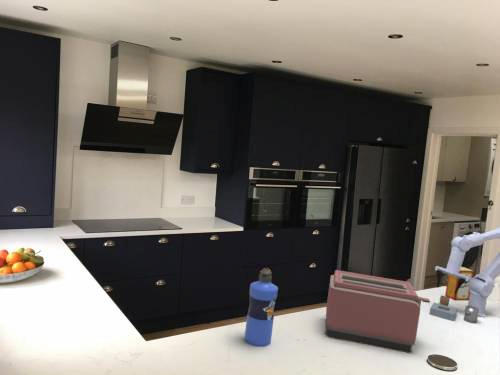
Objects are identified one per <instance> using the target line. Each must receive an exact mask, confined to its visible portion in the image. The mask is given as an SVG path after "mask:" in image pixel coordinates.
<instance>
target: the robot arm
mask: <svg viewBox="0 0 500 375" xmlns="http://www.w3.org/2000/svg"><path fill="white" fill-rule="evenodd" d="M495 239H500V226H498V227H497V228H495V229H492V230H490V231H487V232H483V233H480V232H476V231H474V232H472V233H471V234H468V235H467V234H465V235H463V236H462V237H461V236H456V237H454V238H453V239H452V240H451V251H450V255H449V259H448V261H447V264H446V268H445V267H441V266H438V265H435V267H434V270H435V271H436V278H437V279H436V280H437V283H436V284H437V285H436V288H440V286H441V285H440V284H441V280H442V277H443V275H444V274H445V275H451V276H454V277H457V278H460V279H459V281H458V285H457V288H456V290H455V293H454V294H456V293H457V291H458V289H459V288H460V286H461V285H462V284H463V283H464V282H465V281H468V280H469V277H468V276H465V275H462V274H460V273H459V272H460V269H461V267H463V266H462V265H463V262H464V259H465V256H466V253H467V252H468V251H470V249H471V248H474V247H478V246H481V245H484V242H486V241H492V240H495ZM449 273H451V274H449ZM452 274H454V275H452ZM455 275H456V276H455ZM499 275H500V252H498V254H497V255H496V256H495V257H494V258H493V260H492V261H491V262H490V263H489V264H488V266H487V267H486V268H485V270H484V271H482V273H478V274H475V276H473V278H472V279H470V280H469V282H468V288H469V289H470V296H469V300H468V302H467V306H473V307H476V308H478V309H479V312H478V317H481V318H485V316H486V312H487V311H486V306H487V299H488V298H489V296H490V295H491V294H492V293H493V289H494V288H495V287H496V286H495V285H496V284H495V282H494V281H495V279H497V277H498V276H499Z"/></svg>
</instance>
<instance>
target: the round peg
mask: <svg viewBox="0 0 500 375" xmlns="http://www.w3.org/2000/svg"><path fill="white" fill-rule="evenodd" d="M478 312H479V309H478V308H476V307H473V306H468V305H465V309H464V316H463V320H464V321H465V322H466V323H469V324H477V323H478V318H479V316H478Z"/></svg>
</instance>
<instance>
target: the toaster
mask: <svg viewBox="0 0 500 375" xmlns="http://www.w3.org/2000/svg"><path fill="white" fill-rule="evenodd" d="M327 294H328V295H327V299H326V300H327V302H326V307H325V308H326V310H325V325H326V336H327V337H329V338H333V339H338V340H344V341H350V342H354V343H360V344H363V345H364V344H365V345H370V346H375V347H381V348H384V349H385V348H386V349H389V350H395V351H401V352H406V353H411V351H412V345H414V344H415V343H416V339H417V333H418V329H419V328H418V327H419V321H420V314H421V306H422V303H428V304H429V303H431V301H430V299H429V298H427V297H422V296H418V294H417V292H416V291H415V288H414V287H413V286H412V283H411V282H409V281H404V280H397V279H393V278H385V277H380V276H375V275H367V274H362V273H356V272H349V271H346V270H345V271H344V270H338V269H335V271H334V274H332V275H330V279H329V287H328V292H327Z"/></svg>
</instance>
